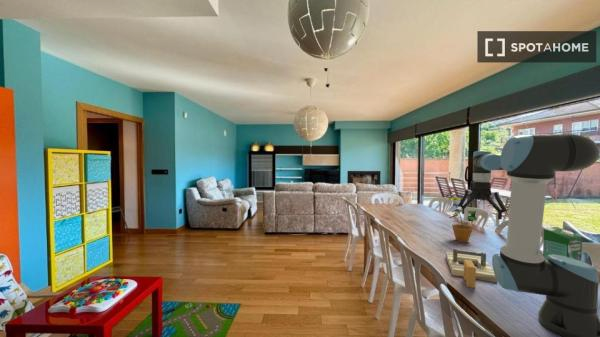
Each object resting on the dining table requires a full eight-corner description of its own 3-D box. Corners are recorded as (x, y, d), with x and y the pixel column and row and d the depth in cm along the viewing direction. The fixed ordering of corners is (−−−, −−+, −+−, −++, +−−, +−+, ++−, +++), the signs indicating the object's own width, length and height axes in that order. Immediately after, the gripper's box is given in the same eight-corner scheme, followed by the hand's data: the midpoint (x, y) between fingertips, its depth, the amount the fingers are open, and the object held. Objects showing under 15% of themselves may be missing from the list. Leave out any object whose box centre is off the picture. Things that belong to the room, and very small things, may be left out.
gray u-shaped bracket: (485, 271, 127) (486, 254, 127) (453, 266, 133) (453, 249, 133) (484, 270, 129) (485, 252, 129) (452, 265, 135) (453, 248, 134)
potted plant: (440, 238, 183) (441, 197, 182) (460, 236, 188) (461, 196, 187) (463, 246, 166) (464, 200, 165) (484, 243, 171) (485, 199, 170)
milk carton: (566, 290, 109) (568, 233, 108) (542, 280, 118) (543, 227, 117) (580, 287, 111) (582, 231, 111) (555, 278, 120) (556, 226, 119)
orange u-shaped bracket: (475, 288, 111) (475, 267, 110) (467, 286, 112) (467, 266, 112) (470, 279, 119) (471, 260, 119) (463, 277, 120) (463, 259, 120)
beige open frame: (497, 282, 116) (497, 275, 116) (452, 275, 123) (452, 268, 123) (483, 262, 139) (483, 257, 139) (445, 257, 146) (446, 252, 146)
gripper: (515, 182, 120) (514, 226, 120) (457, 179, 140) (456, 217, 140) (510, 183, 115) (510, 229, 116) (451, 180, 135) (451, 219, 135)
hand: (480, 223), depth 128 cm, fingers open, 13 cm apart
